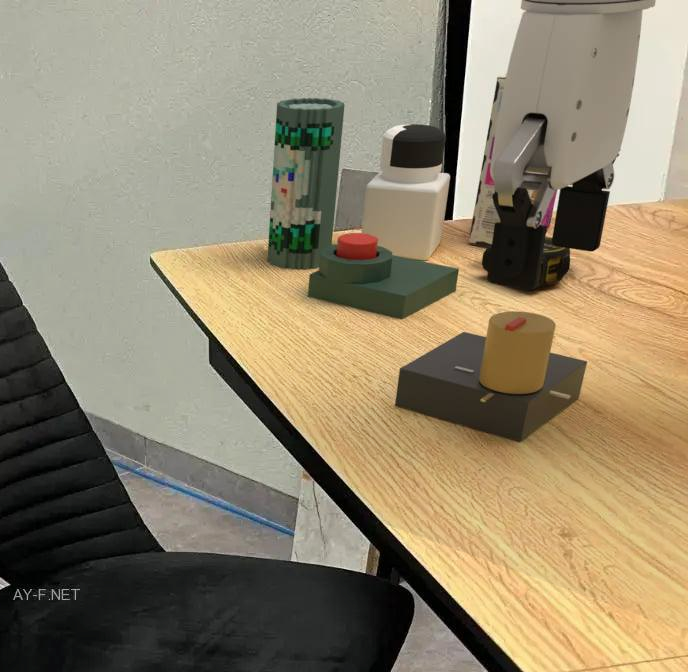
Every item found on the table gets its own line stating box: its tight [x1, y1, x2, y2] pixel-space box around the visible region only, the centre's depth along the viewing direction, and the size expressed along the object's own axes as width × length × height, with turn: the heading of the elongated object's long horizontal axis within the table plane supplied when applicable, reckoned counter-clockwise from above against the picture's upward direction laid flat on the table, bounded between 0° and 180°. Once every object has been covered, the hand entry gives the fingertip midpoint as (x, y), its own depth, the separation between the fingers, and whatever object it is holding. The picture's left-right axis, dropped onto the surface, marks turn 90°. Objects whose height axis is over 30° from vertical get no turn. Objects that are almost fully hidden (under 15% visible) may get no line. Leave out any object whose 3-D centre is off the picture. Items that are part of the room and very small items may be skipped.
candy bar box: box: [467, 73, 558, 248], centre depth 118 cm, size 11×5×16 cm, turn 141°
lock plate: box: [394, 331, 588, 443], centre depth 84 cm, size 12×12×3 cm
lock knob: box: [479, 310, 557, 394], centre depth 80 cm, size 4×4×5 cm
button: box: [336, 232, 378, 260], centre depth 105 cm, size 4×4×2 cm
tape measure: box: [481, 235, 571, 289], centre depth 109 cm, size 7×7×4 cm
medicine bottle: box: [361, 123, 451, 262], centre depth 116 cm, size 7×7×12 cm
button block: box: [307, 243, 460, 320], centre depth 107 cm, size 10×10×4 cm
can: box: [267, 97, 345, 271], centre depth 113 cm, size 6×6×15 cm
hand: (544, 265), depth 77 cm, fingers open, 9 cm apart
